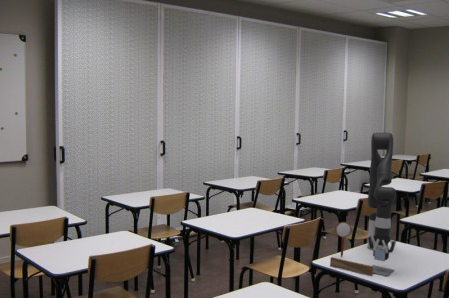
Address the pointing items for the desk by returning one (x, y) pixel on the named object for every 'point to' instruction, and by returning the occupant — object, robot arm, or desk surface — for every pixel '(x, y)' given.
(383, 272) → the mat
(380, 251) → the letter cube
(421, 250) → the desk surface
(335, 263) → the bar
